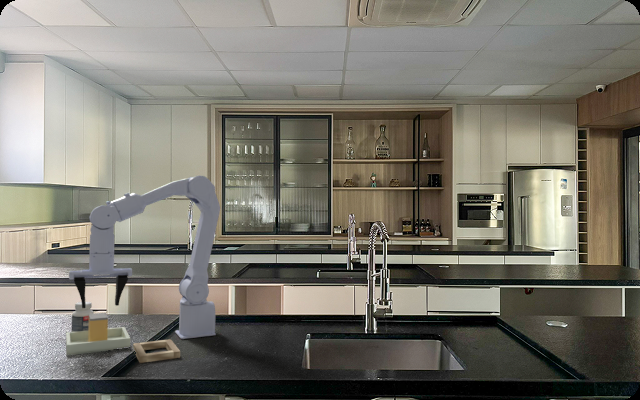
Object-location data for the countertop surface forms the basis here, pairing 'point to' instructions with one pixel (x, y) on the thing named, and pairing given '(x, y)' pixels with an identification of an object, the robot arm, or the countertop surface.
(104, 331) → the tan boxy piece
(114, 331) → the tray
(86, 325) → the pill bottle
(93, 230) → the robot arm
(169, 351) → the socket block
